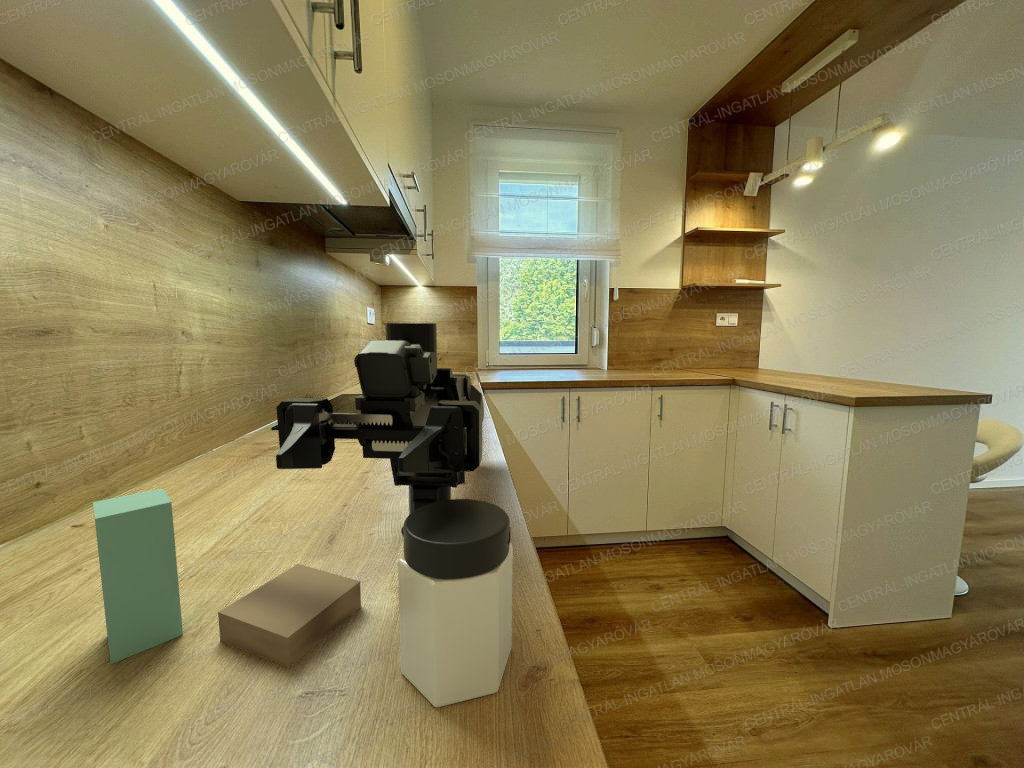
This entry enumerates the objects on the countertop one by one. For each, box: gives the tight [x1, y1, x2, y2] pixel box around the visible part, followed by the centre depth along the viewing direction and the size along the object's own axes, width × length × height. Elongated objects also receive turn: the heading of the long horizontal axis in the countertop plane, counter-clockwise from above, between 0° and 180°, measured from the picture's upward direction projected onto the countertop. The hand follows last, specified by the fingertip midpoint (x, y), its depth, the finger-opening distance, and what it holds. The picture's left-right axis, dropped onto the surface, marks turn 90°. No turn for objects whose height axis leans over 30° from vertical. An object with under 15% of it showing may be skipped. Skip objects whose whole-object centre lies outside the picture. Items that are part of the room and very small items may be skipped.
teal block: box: [92, 487, 184, 665], centre depth 35 cm, size 4×4×12 cm
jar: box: [397, 498, 514, 708], centre depth 32 cm, size 9×8×12 cm
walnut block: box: [217, 563, 362, 669], centre depth 37 cm, size 8×8×3 cm
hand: (338, 464), depth 30 cm, fingers open, 9 cm apart
